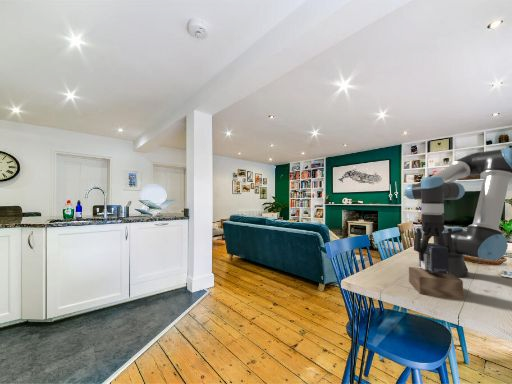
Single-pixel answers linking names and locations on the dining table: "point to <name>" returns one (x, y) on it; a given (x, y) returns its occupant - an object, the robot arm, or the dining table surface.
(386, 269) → the dining table surface
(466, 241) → the robot arm
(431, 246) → the small box
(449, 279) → the walnut block
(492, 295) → the dining table surface
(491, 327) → the dining table surface
